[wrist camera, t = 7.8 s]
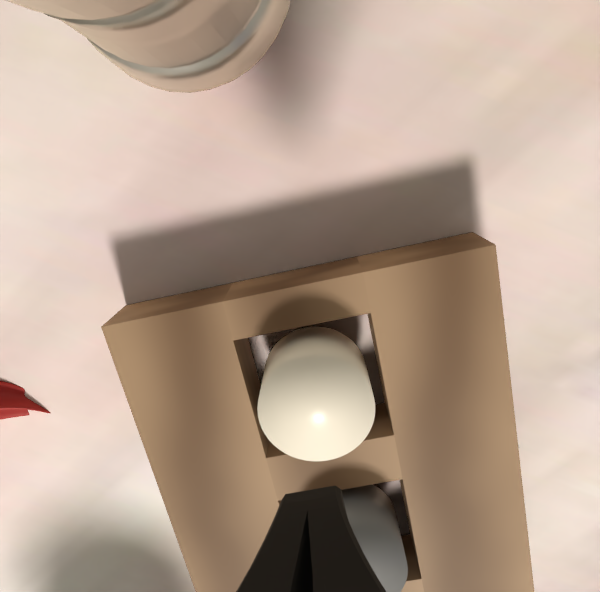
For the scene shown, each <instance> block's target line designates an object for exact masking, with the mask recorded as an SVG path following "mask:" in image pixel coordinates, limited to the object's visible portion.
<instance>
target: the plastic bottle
mask: <svg viewBox="0 0 600 592" xmlns="http://www.w3.org/2000/svg"><path fill="white" fill-rule="evenodd" d="M6 1H9V2H11V3H14V4H17V5H20V6H23V7H25V8H28V9H31V10H34V11H38V12H41V13H44V14H46V15H48V16H50V17H53V18H56V19H59V20H61V21H63V22H64V23H66V24H67V25H69V26H70V27H71V28H73V29H74V30H76V31H77V32H79V33H80V34H82V35H83V36H85V37H86V38H87V39H88V40H89V41H90V43H91V44H92V45H93V46H94V47H95V48H96V49H97V50H98V51H99V52H100V53H101V54H102V55H104V56H105V57H106V58H107V59H109V60H110V61H111V62H112V63H114V64H115V65H116V66H117V67H119V68H120V69H121V70H122V71H124V72H125V73H126V74H128V75H129V76H130V77H132V78H134V79H136V80H138V81H140V82H142V83H144V84H146V85H148V86H151V87H154V88H158V89H162V90H165V91H169V92H186V93H191V92H198V91H204V90H210V89H213V88H216V87H218V86H221V85H223V84H226V83H229V82H231V81H233V80H235V79H236V78H238V77H239V76H241V75H242V74H244V73H245V72H247V71H248V70H250V69H251V68H252V67H253V66H254V65H255V64H256V63H257V62H258V61H259V60H260V59H261V58H262V57H263V56H264V55H265V53H266V52H267V50H268V49H269V48H270V46H271V45H272V43H273V42H274V40H275V39H276V37H277V36H278V33H279V31H280V29H281V27H282V25H283V22H284V20H285V18H286V16H287V13H288V10H289V6H290V2H291V0H6Z"/></svg>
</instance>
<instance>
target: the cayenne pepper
mask: <svg viewBox="0 0 600 592" xmlns="http://www.w3.org/2000/svg"><path fill="white" fill-rule="evenodd" d="M24 394H25V390H24V389H23V388H22V387H20V386H17V385H14V384H11V383H7V382H3V381H0V419H5V418H11V417H18V416H26V415H29V412H28V410H36V411H41V412H46V413H50V412H49V411H47V410H46V409H44V408H42V407H41V406H39V405H38V404H36V403H34V402H33V401H31V400H30V399H28V398H27V397H25V395H24Z"/></svg>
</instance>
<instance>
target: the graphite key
mask: <svg viewBox="0 0 600 592" xmlns="http://www.w3.org/2000/svg"><path fill="white" fill-rule="evenodd" d="M341 492H342V496H343V500H344V505H345V509H346V513H347V517H348V520H349V523H350V525H351V528H352V530H353V532H354V534H355V537H356V539H357V541H358V543H359V545H360V547H361V549H362V551H363V553H364V555H365V557H366V558H367V560H368V562H369V564H370V566H371V567H372V569H373V571H374V572H375V574H376V576H377V578H378V579H379V581H380V582H381V584H382V586H383V587H384V589H385V590H386V592H401V590H402V589H403V587H404V585H405V583H406V580H407V575H408V566H407V560H406V556H405V552H404V547H403V543H402V539H401V534H400V530H399V525H398V521H397V517H396V512H395V509H394V506H393V503H392V501H391V500H390V498H389V497H388V496H387V495H386V493H384V492H383V491H382V490H381V489H380V488H378V487H376V486H375V485H373V484H372V485H366V486H360V487H355V488H349V489H343V490H341Z"/></svg>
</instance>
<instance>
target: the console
mask: <svg viewBox="0 0 600 592" xmlns="http://www.w3.org/2000/svg"><path fill="white" fill-rule="evenodd" d="M363 314H368V318H369V323H370V328H371V334H372V339H373V344H374V349H375V354H376V359H377V365H378V370H379V375H380V380H381V385H382V390H383V396H384V401H385V403H380V404H375V418H374V422H373V425H372V428H371V430H370V432H369V434H368V435H367V437H366V438H365V439H364V441H363V442H362V443H361V444H360V445H359V446H358V447H356V448H355V449H354V450H352V451H351V452H349V453H348V454H346V455H344V456H342V457H339V458H336V459H332V460H328V461H305V460H301V459H297V458H294V457H291V456H289V455H287V454H285V453H284V452H282V451H281V450H279V449H278V448H277V447H275V446H274V445H273V444H272V443H271V442H270V441H269V440H268V438H267V437H266V435H265V434H264V432H263V430H262V428H261V425H260V423H259V419H258V410H257V406H258V399H259V394H260V389H261V385H260V381H259V378H258V374H257V370H256V366H255V363H254V359H253V355H252V352H251V348H250V344H249V340H248V338H249V337H254V336H259V335H264V334H269V333H274V332H279V331H284V330H289V329H293V328H298V327H303V326H308V325H313V324H318V323H323V322H328V321H333V320H338V319H343V318H348V317H353V316H358V315H363ZM101 328H102V330H103V333H104V336H105V339H106V342H107V344H108V347H109V350H110V353H111V356H112V358H113V361H114V364H115V367H116V370H117V372H118V375H119V378H120V381H121V384H122V386H123V389H124V392H125V395H126V398H127V400H128V403H129V406H130V409H131V412H132V414H133V417H134V420H135V423H136V426H137V428H138V431H139V434H140V437H141V440H142V442H143V445H144V448H145V451H146V454H147V456H148V459H149V462H150V465H151V468H152V470H153V473H154V476H155V479H156V482H157V484H158V487H159V490H160V493H161V496H162V498H163V501H164V504H165V507H166V510H167V512H168V515H169V518H170V521H171V524H172V526H173V529H174V532H175V535H176V538H177V540H178V543H179V546H180V549H181V552H182V554H183V557H184V560H185V563H186V566H187V568H188V571H189V574H190V577H191V580H192V582H193V585H194V588H195V591H196V592H236V591H237V590H238V588H239V586H240V584H241V583H242V581H243V579H244V577H245V576H246V574H247V572H248V570H249V569H250V567H251V565H252V563H253V561H254V559H255V557H256V555H257V553H258V551H259V549H260V547H261V545H262V543H263V541H264V539H265V537H266V535H267V533H268V530H269V528H270V526H271V524H272V522H273V519H274V517H275V515H276V512H277V510H278V508H279V505H280V503H281V500H282V498H283V497H284V496H285V494H289V493H295V492H300V491H306V490H312V489H318V488H324V487H329V486H337V487H339V488H340V489H341V490H343V489H349V488H355V487H360V486H366V485H372V484H378V483H383V482H389V481H395V480H400V483H401V489H402V494H403V499H404V504H405V509H406V514H407V520H408V525H409V530H410V534H409V535H403V536H401V539H402V543H403V547H404V552H405V556H406V560H407V566H408V575H407V580H406V583H405V585H404V587H403V589H402V590H401V592H534V585H533V576H532V567H531V558H530V549H529V540H528V531H527V522H526V513H525V504H524V495H523V486H522V478H521V469H520V460H519V451H518V442H517V433H516V424H515V415H514V406H513V397H512V388H511V379H510V370H509V361H508V352H507V343H506V334H505V326H504V317H503V308H502V299H501V290H500V281H499V272H498V263H497V254H496V245H495V244H493V243H491V242H489V241H488V240H486V239H484V238H482V237H480V236H479V235H477V234H475V233H473V232H471V233H466V234H461V235H457V236H452V237H447V238H443V239H438V240H433V241H428V242H424V243H419V244H414V245H409V246H405V247H400V248H395V249H390V250H386V251H381V252H376V253H371V254H367V255H362V256H357V257H353V258H348V259H343V260H338V261H334V262H329V263H324V264H319V265H315V266H310V267H305V268H300V269H296V270H291V271H286V272H282V273H277V274H272V275H267V276H263V277H258V278H253V279H248V280H244V281H239V282H234V283H229V284H225V285H220V286H215V287H211V288H206V289H201V290H196V291H192V292H187V293H182V294H177V295H173V296H168V297H163V298H158V299H154V300H149V301H144V302H139V303H135V304H130V305H126V306H125V307H123V308H122V309H121V310H120V311H119V312H118V313H117V314H115V315H114V316H113V317H112V318H111V319H110V320H109V321H107V322H106V323H105V324H104V325H103V326H102V327H101Z"/></svg>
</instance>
